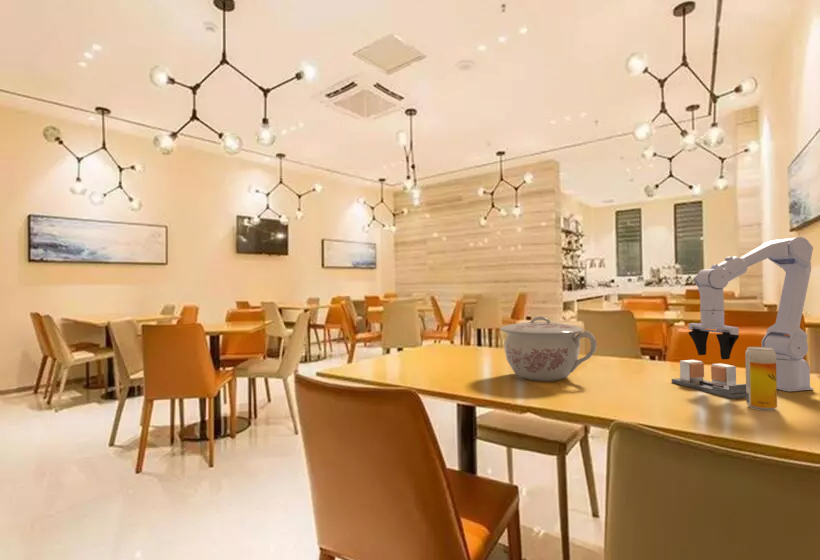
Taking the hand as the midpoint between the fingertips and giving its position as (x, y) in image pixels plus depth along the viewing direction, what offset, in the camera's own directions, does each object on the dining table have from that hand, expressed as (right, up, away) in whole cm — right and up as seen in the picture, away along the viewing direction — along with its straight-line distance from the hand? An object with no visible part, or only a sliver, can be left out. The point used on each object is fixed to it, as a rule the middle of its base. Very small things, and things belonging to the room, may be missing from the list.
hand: (713, 356), depth 131 cm
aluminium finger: (+8, -10, +8) cm, 15 cm away
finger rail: (+1, -10, +2) cm, 10 cm away
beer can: (0, -10, -18) cm, 21 cm away
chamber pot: (-43, -11, +22) cm, 50 cm away
